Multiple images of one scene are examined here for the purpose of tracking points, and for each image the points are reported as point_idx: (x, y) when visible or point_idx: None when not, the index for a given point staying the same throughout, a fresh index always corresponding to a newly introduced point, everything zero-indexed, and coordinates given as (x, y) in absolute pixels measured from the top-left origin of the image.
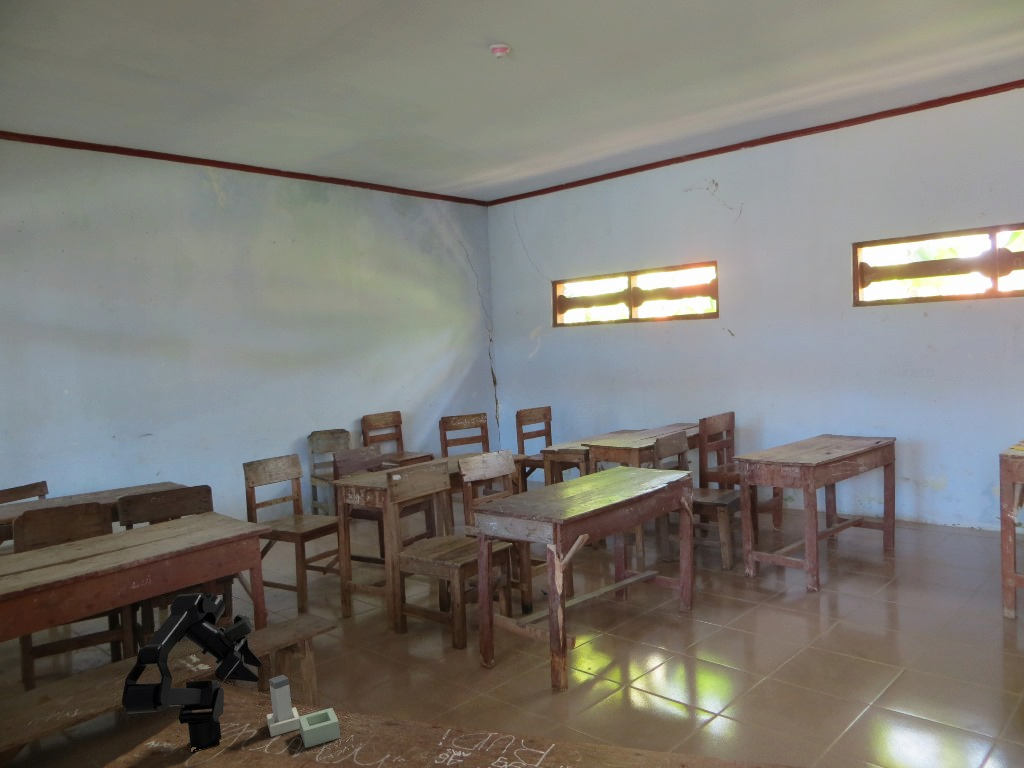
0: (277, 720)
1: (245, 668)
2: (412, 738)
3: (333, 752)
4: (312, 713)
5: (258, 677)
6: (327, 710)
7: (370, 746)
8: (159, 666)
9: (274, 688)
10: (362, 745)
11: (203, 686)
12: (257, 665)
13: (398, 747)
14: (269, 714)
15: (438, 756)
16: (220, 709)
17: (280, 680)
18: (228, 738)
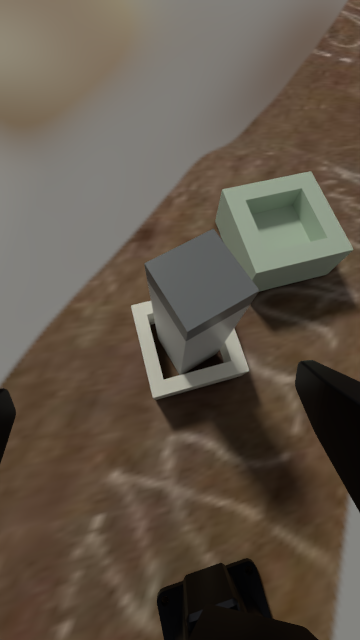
0: (213, 351)
1: None
2: (320, 92)
3: (352, 216)
4: (243, 236)
5: (316, 362)
6: (236, 199)
7: (338, 153)
8: None
9: (240, 309)
10: (331, 166)
11: None
12: (2, 430)
13: (350, 112)
14: (153, 387)
15: None
16: (236, 629)
17: (228, 265)
18: (202, 533)
